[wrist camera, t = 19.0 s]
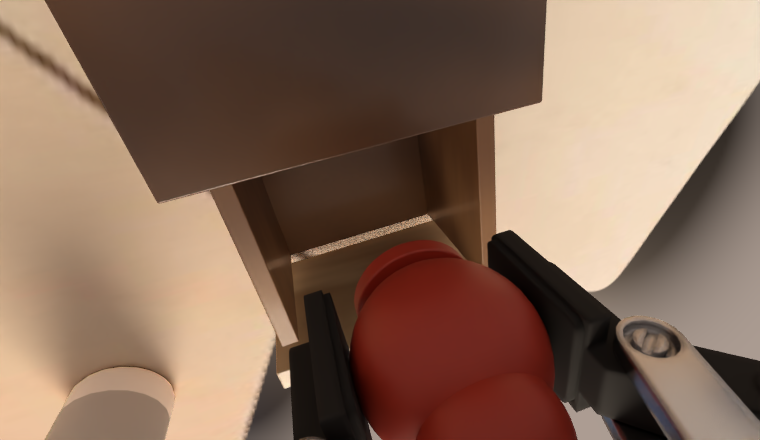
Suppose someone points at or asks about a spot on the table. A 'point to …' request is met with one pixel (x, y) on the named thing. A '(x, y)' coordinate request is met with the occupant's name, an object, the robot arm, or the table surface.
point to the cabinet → (295, 77)
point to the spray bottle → (116, 407)
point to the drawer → (358, 219)
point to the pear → (451, 351)
